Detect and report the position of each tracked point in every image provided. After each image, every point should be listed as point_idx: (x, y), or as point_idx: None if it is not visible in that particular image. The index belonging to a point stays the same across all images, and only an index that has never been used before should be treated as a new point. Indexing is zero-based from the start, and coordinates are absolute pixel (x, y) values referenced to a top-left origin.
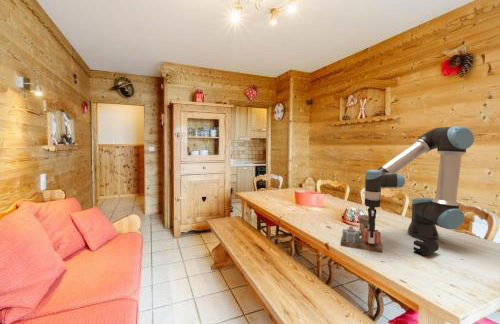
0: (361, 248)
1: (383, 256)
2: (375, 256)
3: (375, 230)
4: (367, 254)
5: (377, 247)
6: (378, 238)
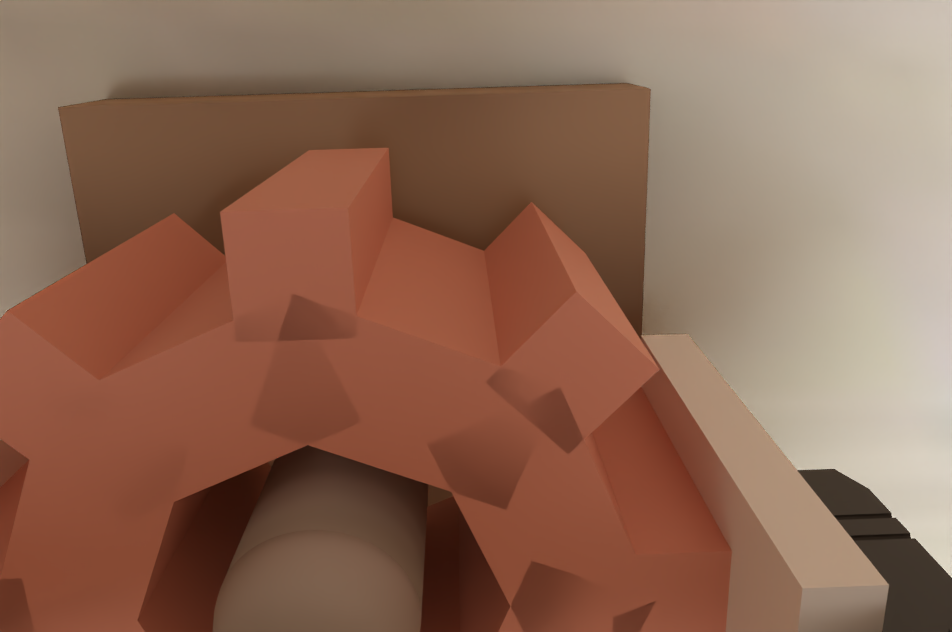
0: None
1: (860, 60)
2: (917, 239)
3: (123, 441)
4: (863, 397)
5: (616, 212)
6: (567, 252)
